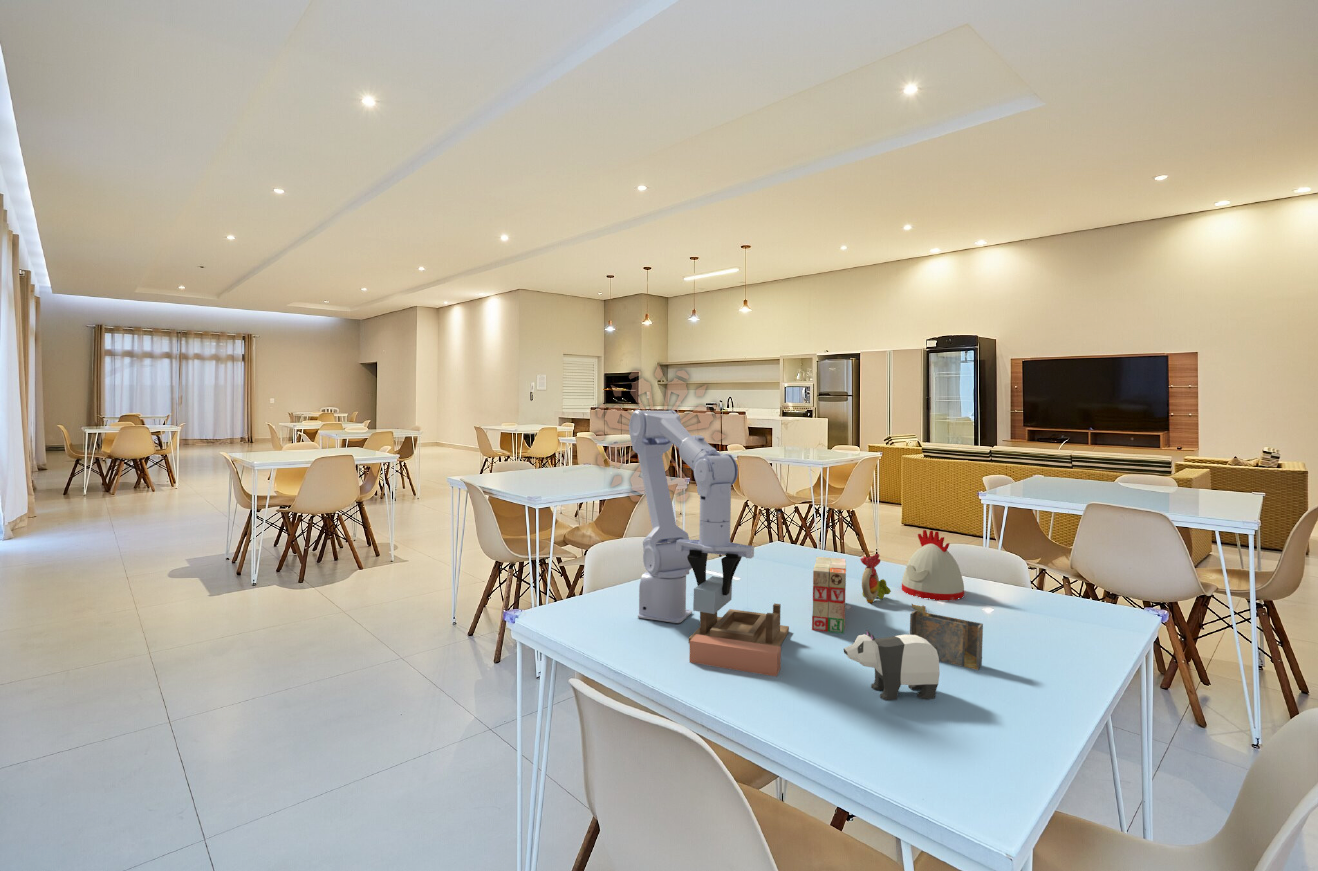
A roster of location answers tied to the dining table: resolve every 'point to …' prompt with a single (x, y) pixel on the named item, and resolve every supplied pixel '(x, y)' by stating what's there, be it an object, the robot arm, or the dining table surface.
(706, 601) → the pale grey pillar block
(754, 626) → the jig
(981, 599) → the dining table surface
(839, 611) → the stack of blocks
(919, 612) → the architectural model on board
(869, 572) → the bird rattle
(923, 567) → the kitchen timer
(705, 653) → the terracotta rectangular bar
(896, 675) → the giant panda
